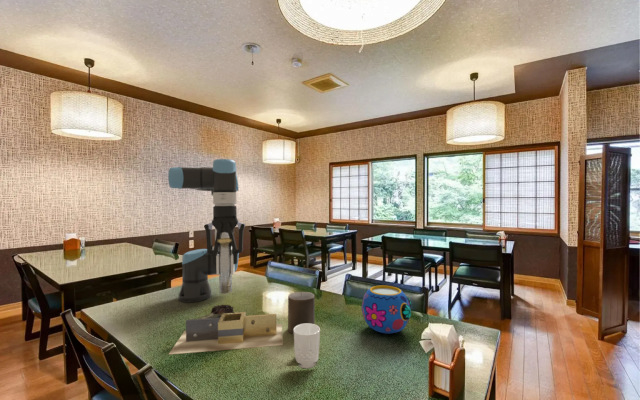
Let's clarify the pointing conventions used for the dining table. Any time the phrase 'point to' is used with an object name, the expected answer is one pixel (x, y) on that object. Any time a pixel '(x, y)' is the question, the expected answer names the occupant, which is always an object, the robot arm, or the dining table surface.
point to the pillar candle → (300, 309)
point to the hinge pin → (225, 265)
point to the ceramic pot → (386, 309)
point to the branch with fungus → (218, 311)
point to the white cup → (306, 344)
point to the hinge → (230, 327)
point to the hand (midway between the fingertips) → (225, 273)
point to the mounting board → (214, 346)
